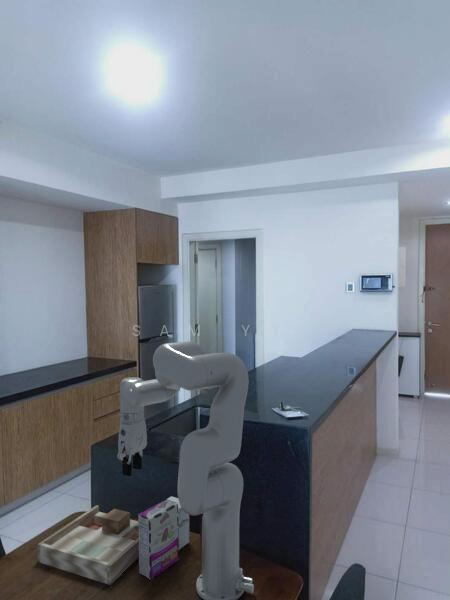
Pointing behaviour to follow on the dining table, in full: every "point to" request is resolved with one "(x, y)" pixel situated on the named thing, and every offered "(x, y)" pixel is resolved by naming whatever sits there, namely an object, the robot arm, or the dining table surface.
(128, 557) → the tray
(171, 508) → the candy bar box
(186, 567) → the dining table surface
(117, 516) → the walnut block
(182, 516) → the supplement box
